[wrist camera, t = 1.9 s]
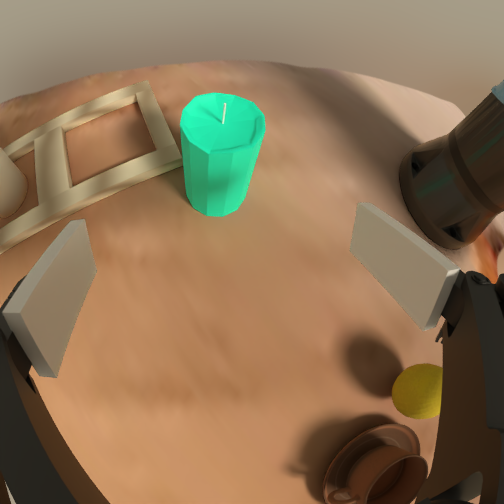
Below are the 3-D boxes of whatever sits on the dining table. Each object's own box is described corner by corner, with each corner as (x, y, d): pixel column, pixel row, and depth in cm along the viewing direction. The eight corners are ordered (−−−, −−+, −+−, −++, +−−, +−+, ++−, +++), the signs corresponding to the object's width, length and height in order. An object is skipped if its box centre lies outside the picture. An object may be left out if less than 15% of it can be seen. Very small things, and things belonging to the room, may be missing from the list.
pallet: (148, 87, 31) (147, 79, 30) (183, 165, 28) (182, 157, 27) (-25, 177, 24) (-30, 172, 22) (-23, 269, 21) (-31, 266, 20)
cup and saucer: (336, 524, 20) (359, 550, 14) (299, 461, 22) (322, 487, 16) (418, 468, 23) (450, 482, 17) (396, 399, 25) (433, 407, 19)
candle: (173, 188, 28) (160, 102, 16) (217, 155, 29) (227, 67, 18) (214, 229, 27) (222, 154, 16) (258, 191, 29) (289, 110, 17)
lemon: (380, 363, 26) (432, 367, 18) (418, 361, 26) (470, 361, 19) (374, 414, 24) (423, 431, 16) (413, 408, 25) (463, 418, 17)
